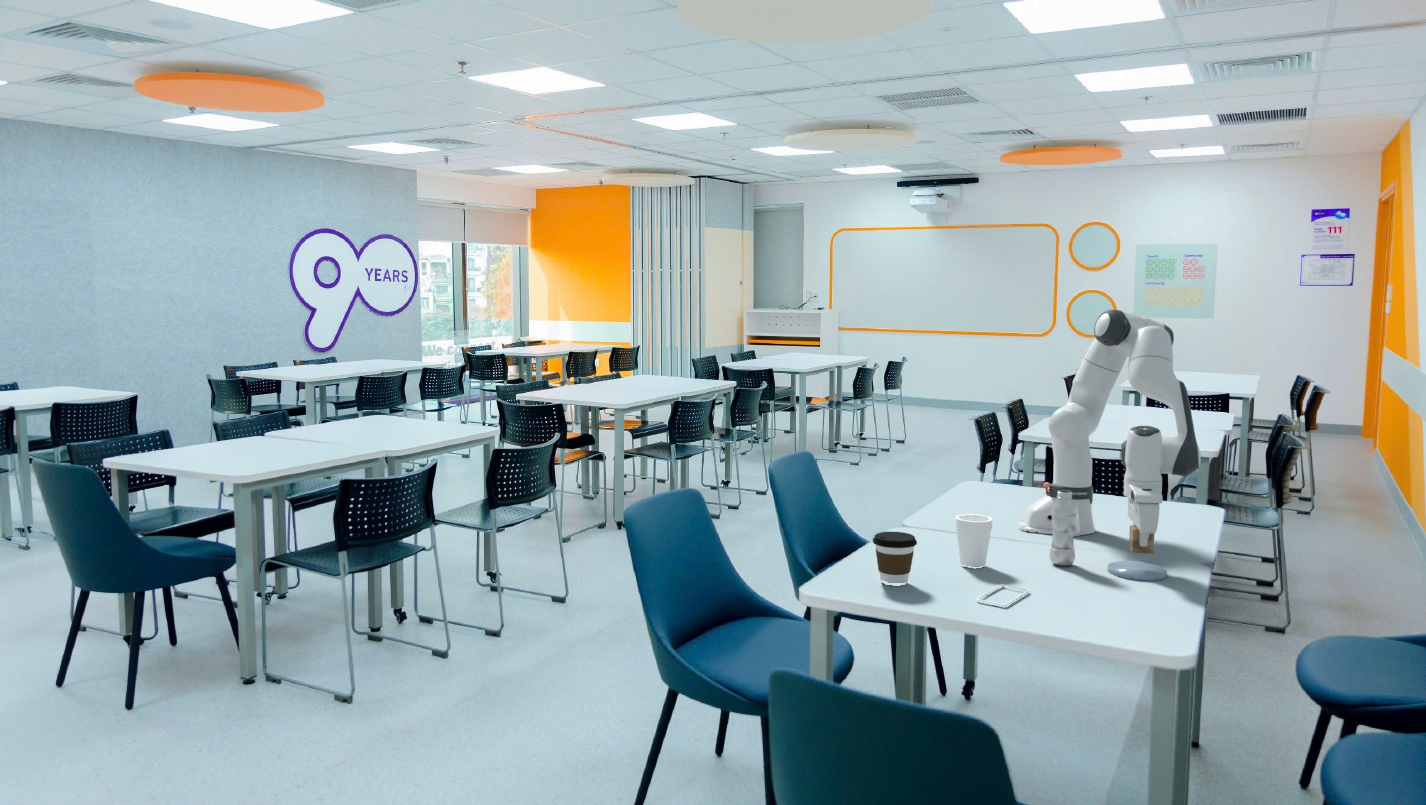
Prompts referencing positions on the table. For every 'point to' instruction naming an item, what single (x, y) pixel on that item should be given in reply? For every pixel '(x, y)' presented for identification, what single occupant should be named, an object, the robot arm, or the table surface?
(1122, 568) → the dish
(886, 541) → the coffee cup
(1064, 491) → the plastic bottle
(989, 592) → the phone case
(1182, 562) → the table surface
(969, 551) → the foam cup
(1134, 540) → the walnut block
